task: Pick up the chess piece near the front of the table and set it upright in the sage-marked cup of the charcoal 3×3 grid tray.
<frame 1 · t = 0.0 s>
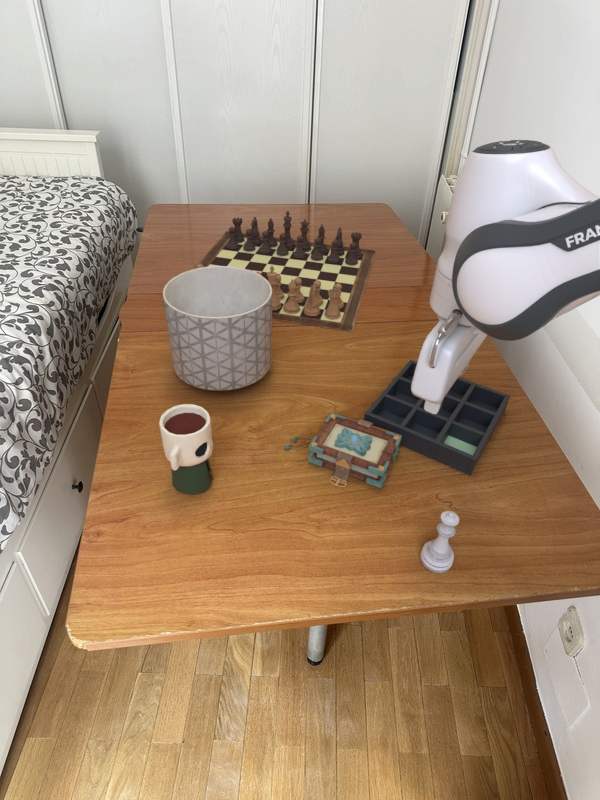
hand: (445, 390, 70), 21 cm above the table, tool pointing down, fingers open, 8 cm apart
grid: (435, 419, 97), on the table
chess piece: (435, 560, 74), on the table
character mug: (193, 482, 84), on the table
decorative book: (338, 456, 89), on the table
chessboard: (280, 274, 140), on the table
planter: (223, 373, 106), on the table
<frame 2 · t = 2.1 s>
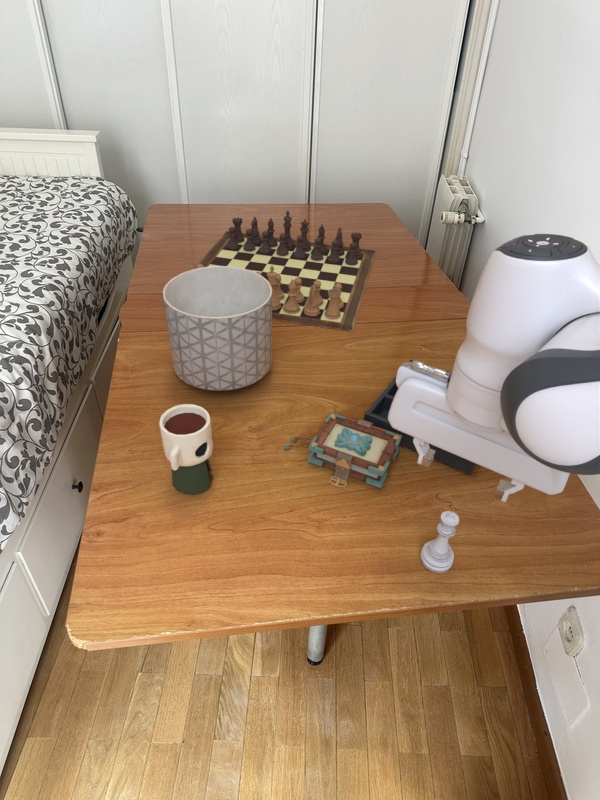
hand: (461, 479, 64), 16 cm above the table, tool pointing down, fingers open, 8 cm apart
nothing on the table moved.
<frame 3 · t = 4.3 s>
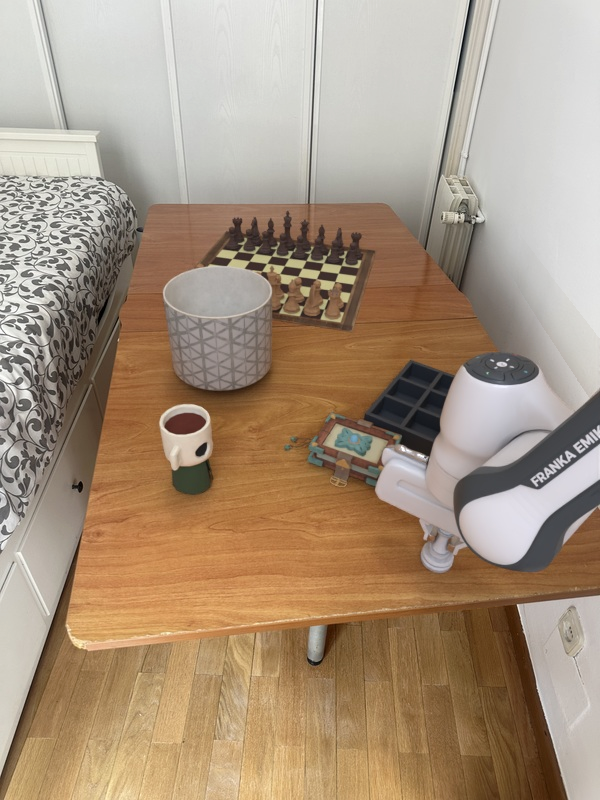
hand: (441, 544, 72), 4 cm above the table, tool pointing down, fingers closed on chess piece, 2 cm apart
chess piece: (435, 560, 74), on the table, touching gripper
everything else where it was.
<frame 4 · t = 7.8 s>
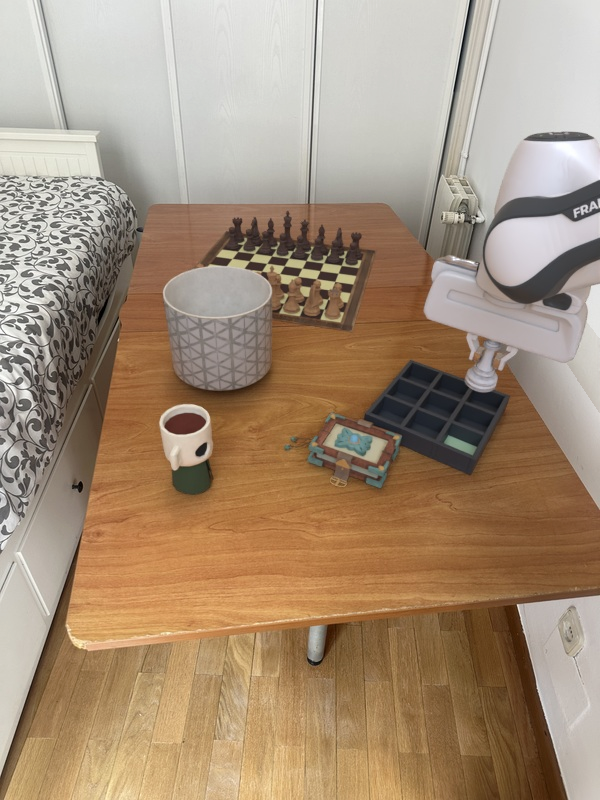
hand: (486, 363, 75), 21 cm above the table, tool pointing down, fingers closed on chess piece
chess piece: (479, 384, 78), point 17 cm above the table, touching gripper
everything else where it was.
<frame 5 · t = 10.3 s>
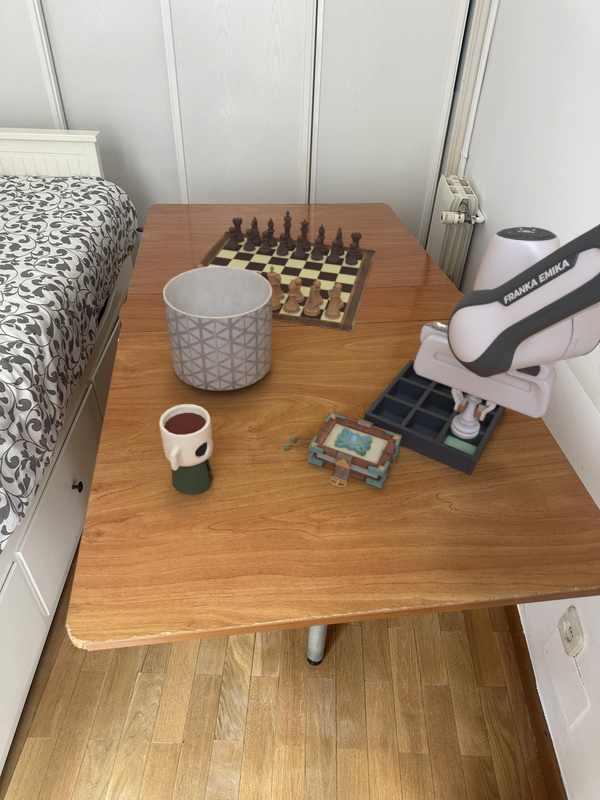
hand: (469, 413, 85), 9 cm above the table, tool pointing down, fingers closed on chess piece
chess piece: (463, 431, 87), point 5 cm above the table, touching gripper
everything else where it was.
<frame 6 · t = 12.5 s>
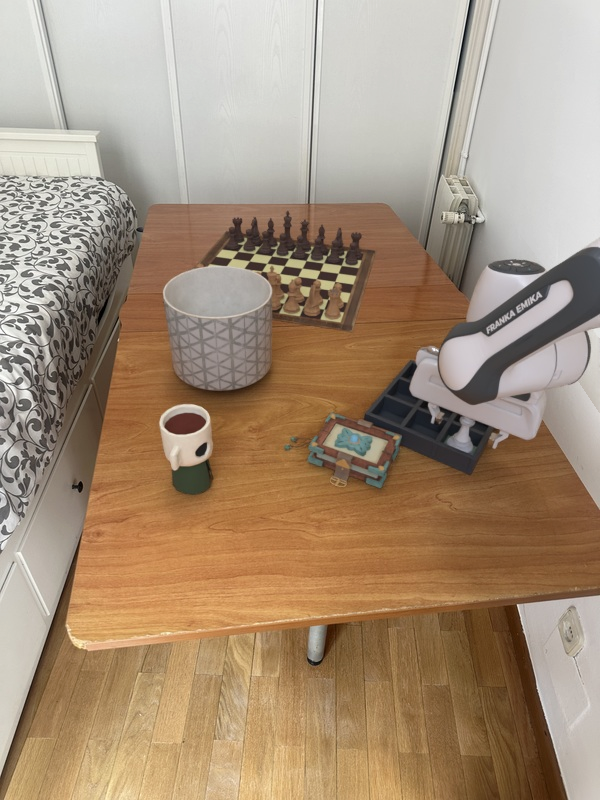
hand: (463, 433, 88), 5 cm above the table, tool pointing down, fingers open, 8 cm apart
chess piece: (457, 451, 90), point 1 cm above the table, touching grid
everything else where it was.
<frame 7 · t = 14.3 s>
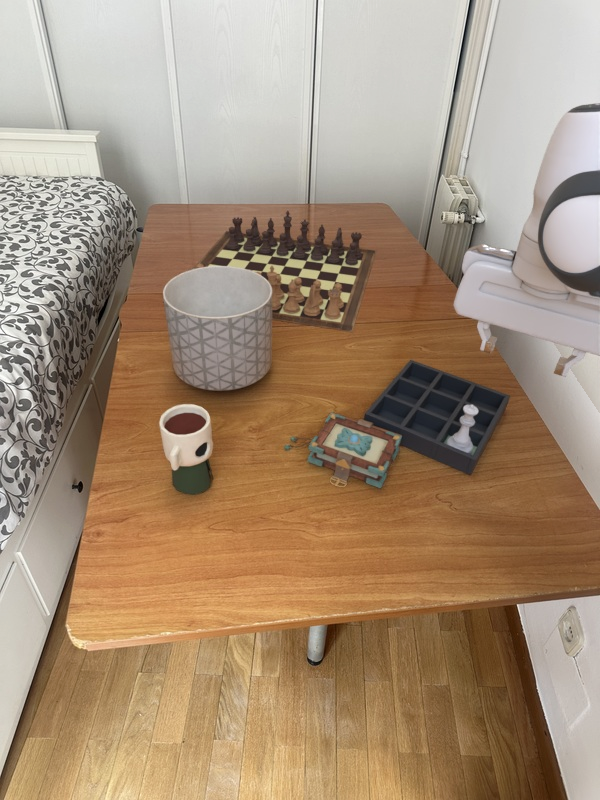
hand: (522, 361, 70), 24 cm above the table, tool pointing down, fingers open, 8 cm apart
nothing on the table moved.
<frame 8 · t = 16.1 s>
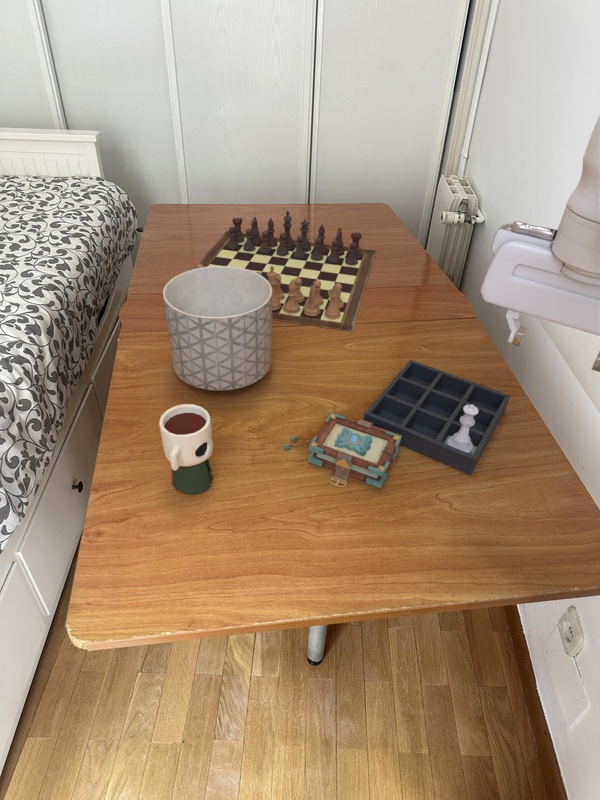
hand: (555, 355, 62), 29 cm above the table, tool pointing down, fingers open, 8 cm apart
nothing on the table moved.
at the end: chess piece 0.1 cm from the target spot in the grid, point 0.6 cm above the grid's base; chess piece tilted 0°; the gripper is holding nothing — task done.
